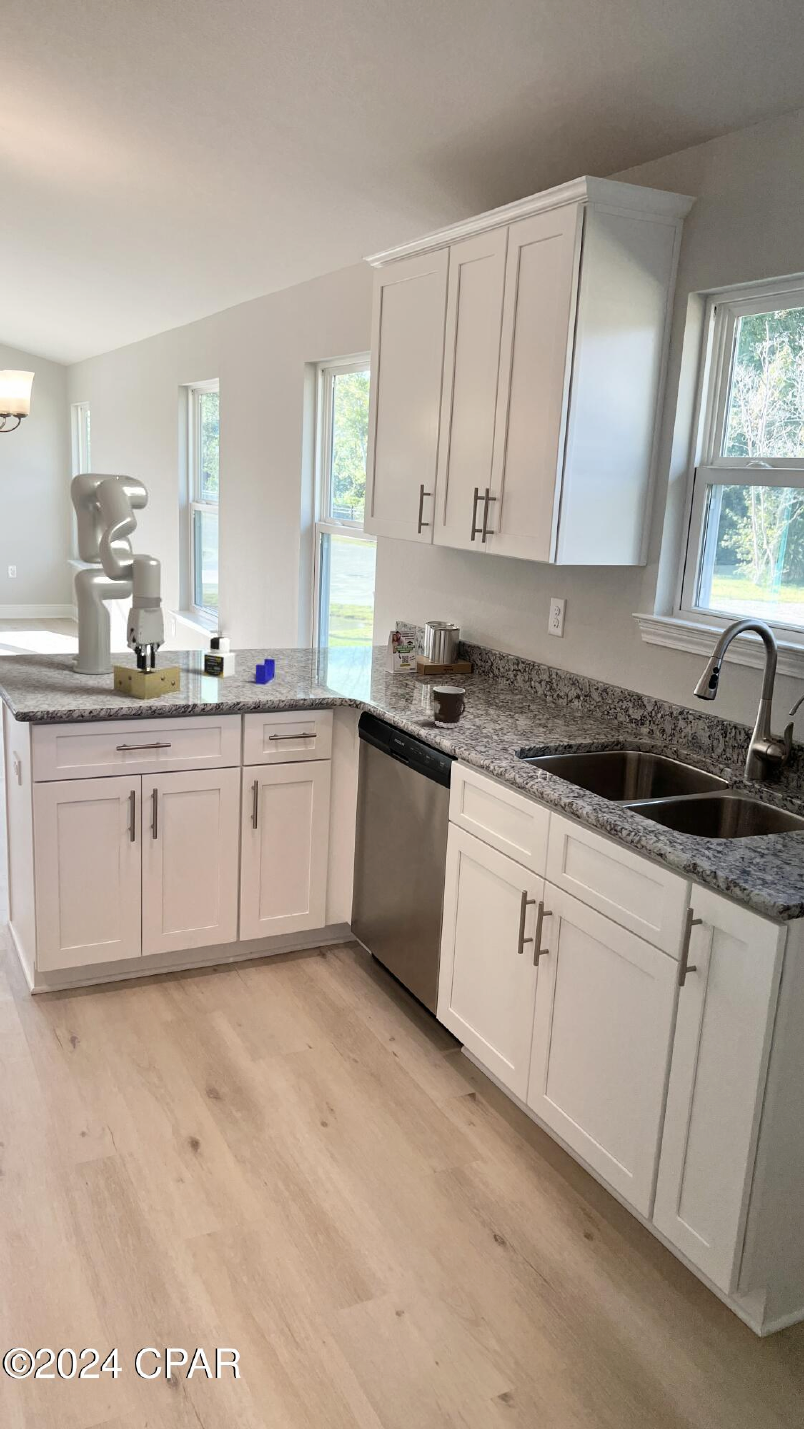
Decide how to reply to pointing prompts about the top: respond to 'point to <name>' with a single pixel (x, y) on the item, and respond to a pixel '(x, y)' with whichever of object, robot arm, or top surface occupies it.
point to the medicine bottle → (219, 659)
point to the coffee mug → (448, 704)
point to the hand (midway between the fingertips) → (146, 667)
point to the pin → (147, 659)
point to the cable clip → (265, 671)
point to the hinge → (146, 681)
